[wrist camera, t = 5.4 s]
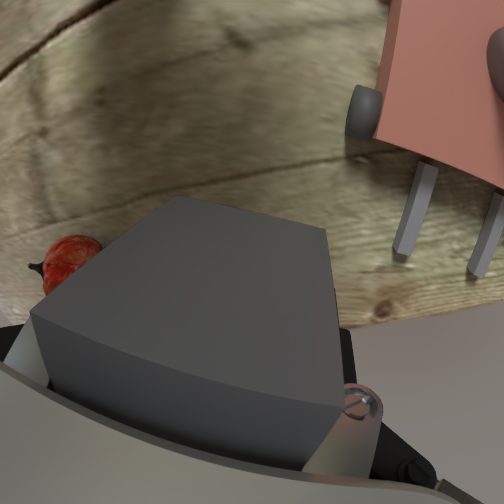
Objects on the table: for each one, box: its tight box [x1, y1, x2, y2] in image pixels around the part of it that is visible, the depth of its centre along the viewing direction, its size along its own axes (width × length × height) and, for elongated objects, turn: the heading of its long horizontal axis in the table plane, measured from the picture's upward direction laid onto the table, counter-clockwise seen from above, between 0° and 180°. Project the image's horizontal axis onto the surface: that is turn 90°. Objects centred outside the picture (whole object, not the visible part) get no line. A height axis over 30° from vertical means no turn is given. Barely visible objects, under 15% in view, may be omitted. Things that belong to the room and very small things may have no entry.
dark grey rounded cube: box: [29, 195, 346, 471], centre depth 9 cm, size 6×5×7 cm
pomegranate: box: [28, 235, 102, 296], centre depth 26 cm, size 7×7×10 cm
